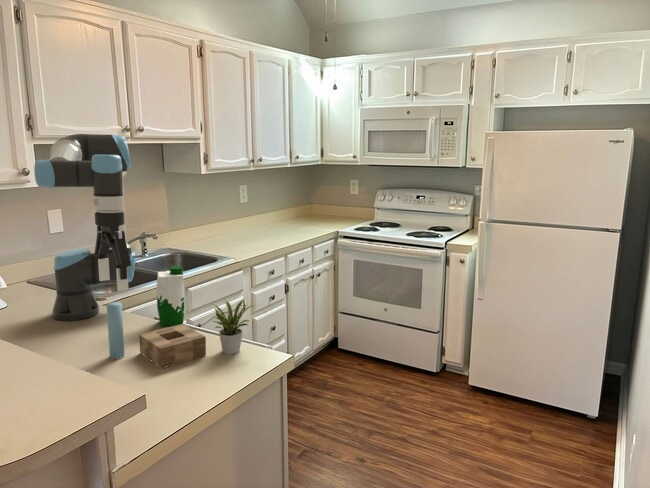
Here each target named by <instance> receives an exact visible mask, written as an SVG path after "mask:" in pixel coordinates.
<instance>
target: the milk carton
mask: <svg viewBox="0 0 650 488" xmlns="http://www.w3.org/2000/svg"><path fill="white" fill-rule="evenodd" d="M156 306H157V308H156V309H157V314H158V318H159V321H160V325H161V328H167V326H170V327H171V326H176V325H180V324H184V320H185V319H184V317H185V283H184V272H183V267H182V266H179V265H178V266H177V265H176V266H175V265H173V266H171V267H170V268H169V270H166V271H157V278H156Z"/></svg>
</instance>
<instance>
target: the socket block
mask: <svg viewBox="0 0 650 488" xmlns="http://www.w3.org/2000/svg"><path fill="white" fill-rule="evenodd" d="M138 337H139V338H138V340H139V353H140V352H141V353H142V354H144V355H145V356H146V357H148V358H149V359H150V360H152V361H153V362H154V363H155V364H157V365H158V366H159V367H161V368H163V369H165V368H164V367H166V366H169V367H171V366H170V365H173V364H176V365H179V364H182V363H181V362H183V363H185V361H186V362H189V361H192V359H193V360H195V358H196V359H199V358H198V357H200V358H203V357H206V356H207V348H206V347H207V345H206V344H207V343H206V342H207V341H206V340H207V337H206V336H205V335H204V334H202V333H200V332H198V331H197V330H194V329H193V328H192V327H189V326H187V325H186V324H184V323H183V324H180V325H176V326H170V327H162V328H160V329H156V330H152V331H146V332H143V333H139V334H138ZM141 353H140V354H141ZM142 354H141V355H142ZM205 355H206V356H205ZM145 356H144V357H145ZM202 356H203V357H202ZM146 357H145V358H146ZM149 359H148V360H149ZM150 360H149V361H150ZM188 360H189V361H188ZM153 362H152V363H153ZM154 363H153V364H154ZM178 363H179V364H178ZM155 364H154V365H155ZM157 365H156V366H157ZM158 366H157V367H158ZM173 366H174V365H173ZM159 367H158V368H159ZM161 368H160V369H161ZM166 368H167V367H166Z"/></svg>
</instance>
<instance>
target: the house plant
mask: <svg viewBox="0 0 650 488" xmlns="http://www.w3.org/2000/svg"><path fill="white" fill-rule="evenodd" d="M223 300H224V301H223V302H224V303H225V305H226V308H227V312H228V314H227V317H226V315H225V313H224V311H223V310H222V308H220V306H217V305H216V304H214V303H212V305H213V306H214V307H215V308H214V310H215V311H214V312H215V316H216V318H215V321H214V320H213V321H212V323H216V324H218V325H217V326H215V327H214V329H220V330H219V332H218V333H219V339H220V344H221V350H222V353H223V354H226V355H234V354H235V355H236V354H238V353H239V352H240V350H241V345H242V338H243V329H242V328H239V327H244V326H249V324H247V322H249V323H251V321H250V320H249V319H244V320H242V321H240V319H241V318H242V316H243V315H244V313H246V311H247V310H248V309H250V308H252V307H257V306H259V305H258V304H253V305H250V306H248V304H245V305H244V304H243V302H244V301H245V300H246V298H243V299H242V300H240V301H239V302H238V304H237V305H236V307H235V309H234V313H233V310H232V306H231V303H230V302H229V301H227V300H226V299H225V298H224V299H223ZM242 306H243V307H242ZM240 307H242V308H241V310H240V311H239V309H240ZM217 320H218V321H217ZM239 321H240V322H239ZM219 325H220V326H219Z"/></svg>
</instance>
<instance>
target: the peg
mask: <svg viewBox="0 0 650 488" xmlns="http://www.w3.org/2000/svg"><path fill="white" fill-rule="evenodd" d="M106 313H107V315H106V316H107V329H108V330H107V332H108V334H107V335H108V348H109V350H108V351H109V358H110V357H111V358H120V357H123V356H124V354H125V338H124V337H125V336H124V321H123V320H124V319H123V317H124V316H123V303H122V302H121V301H114V302H109V303H107V304H106ZM124 357H125V356H124ZM124 357H123V358H124ZM111 358H110V359H111ZM120 359H121V358H120Z"/></svg>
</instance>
